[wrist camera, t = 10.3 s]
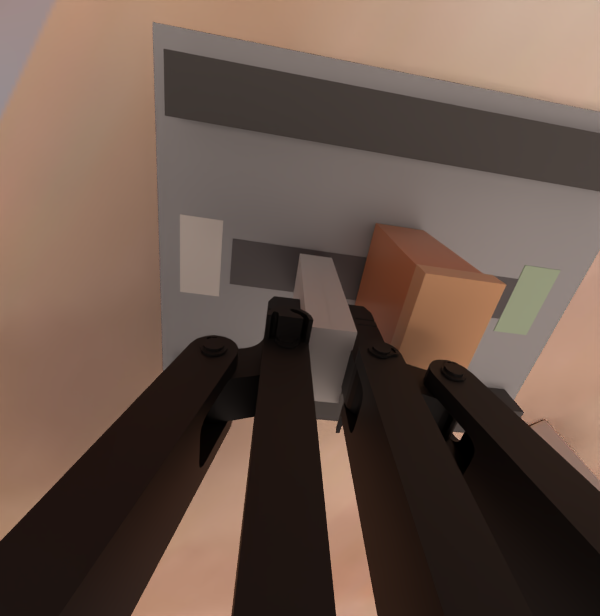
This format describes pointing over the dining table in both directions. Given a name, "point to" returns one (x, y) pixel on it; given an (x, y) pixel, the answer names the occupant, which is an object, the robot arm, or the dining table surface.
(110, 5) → the dining table surface
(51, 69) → the dining table surface
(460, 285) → the orange rectangular block
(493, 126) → the set of dark strips
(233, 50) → the panel
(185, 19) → the dining table surface
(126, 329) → the dining table surface
